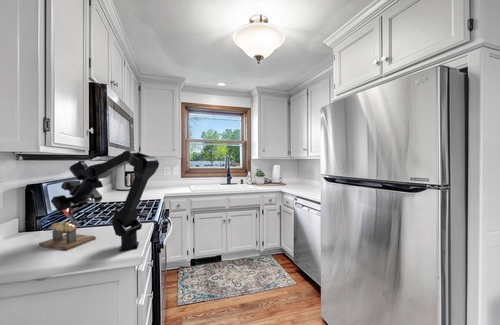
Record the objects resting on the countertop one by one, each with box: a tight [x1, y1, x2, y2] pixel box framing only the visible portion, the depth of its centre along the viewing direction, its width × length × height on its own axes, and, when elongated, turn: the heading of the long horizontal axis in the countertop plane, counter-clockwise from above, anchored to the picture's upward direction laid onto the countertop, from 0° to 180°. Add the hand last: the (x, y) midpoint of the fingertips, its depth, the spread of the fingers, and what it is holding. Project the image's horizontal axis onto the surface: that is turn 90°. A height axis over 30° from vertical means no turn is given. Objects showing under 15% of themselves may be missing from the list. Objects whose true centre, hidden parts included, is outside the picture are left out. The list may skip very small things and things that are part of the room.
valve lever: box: [61, 208, 80, 227], centre depth 102 cm, size 2×2×11 cm
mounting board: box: [38, 233, 96, 251], centre depth 98 cm, size 16×12×1 cm
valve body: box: [50, 221, 78, 244], centre depth 97 cm, size 11×6×8 cm, turn 73°
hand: (69, 211), depth 102 cm, fingers closed, pressing on valve lever
